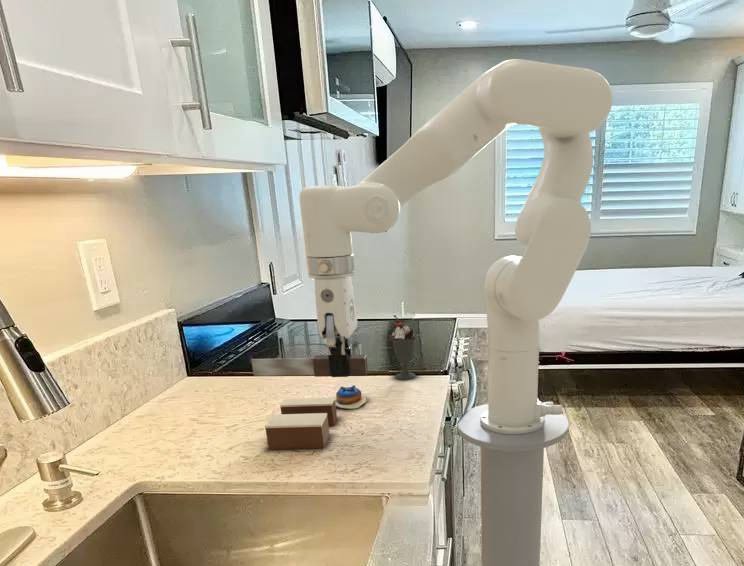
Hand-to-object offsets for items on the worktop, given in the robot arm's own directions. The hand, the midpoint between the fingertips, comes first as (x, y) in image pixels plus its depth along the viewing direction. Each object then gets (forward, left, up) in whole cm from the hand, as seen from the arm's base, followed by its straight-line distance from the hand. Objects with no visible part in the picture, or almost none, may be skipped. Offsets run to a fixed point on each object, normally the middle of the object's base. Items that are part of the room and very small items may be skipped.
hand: (341, 372), depth 100 cm
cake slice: (+9, -9, -13) cm, 19 cm away
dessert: (+3, -20, -13) cm, 24 cm away
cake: (+9, 0, -13) cm, 16 cm away
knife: (+6, 0, 0) cm, 6 cm away
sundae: (-8, -37, -13) cm, 40 cm away
